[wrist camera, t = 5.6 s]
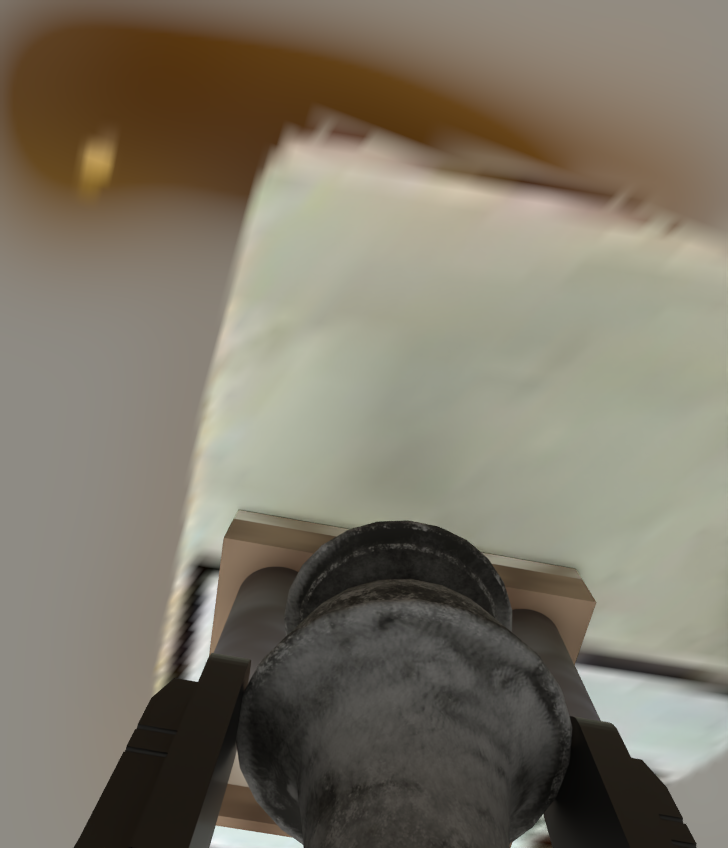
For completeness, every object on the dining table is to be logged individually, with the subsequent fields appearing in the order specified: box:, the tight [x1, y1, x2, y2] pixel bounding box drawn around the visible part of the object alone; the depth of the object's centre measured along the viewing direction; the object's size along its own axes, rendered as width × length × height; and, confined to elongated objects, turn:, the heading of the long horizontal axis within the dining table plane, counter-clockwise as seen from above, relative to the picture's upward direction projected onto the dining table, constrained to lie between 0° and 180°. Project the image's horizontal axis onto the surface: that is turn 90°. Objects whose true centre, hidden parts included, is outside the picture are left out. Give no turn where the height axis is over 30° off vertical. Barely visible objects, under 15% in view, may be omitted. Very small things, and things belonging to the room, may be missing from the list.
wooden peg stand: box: [209, 510, 601, 847], centre depth 29 cm, size 18×18×9 cm
